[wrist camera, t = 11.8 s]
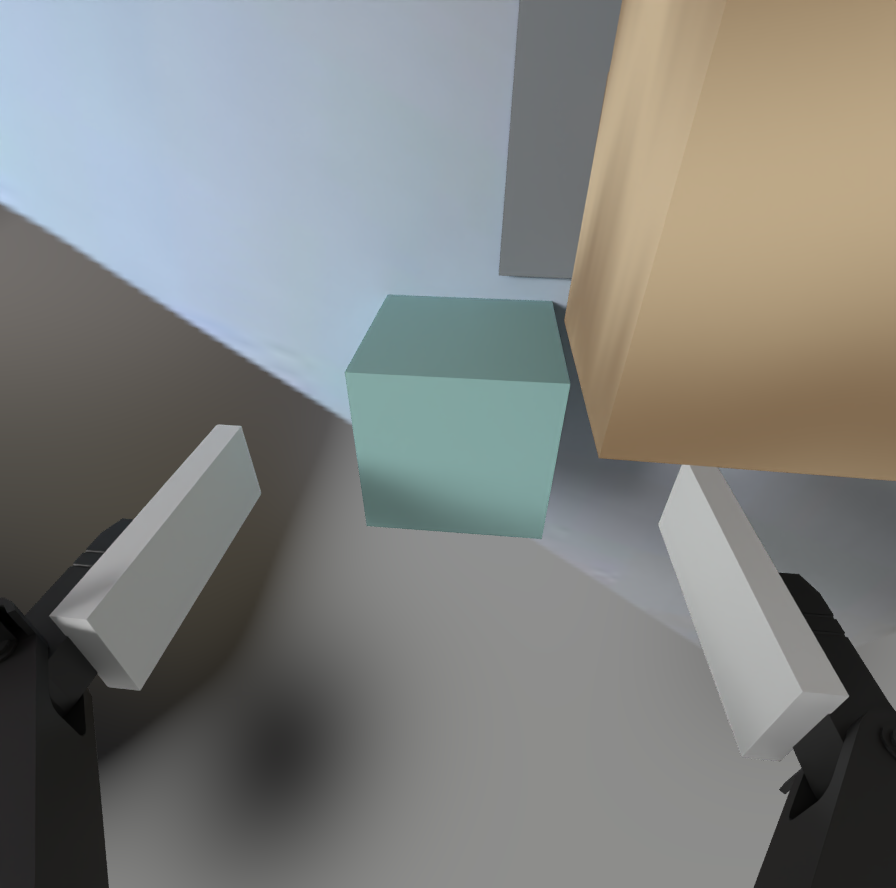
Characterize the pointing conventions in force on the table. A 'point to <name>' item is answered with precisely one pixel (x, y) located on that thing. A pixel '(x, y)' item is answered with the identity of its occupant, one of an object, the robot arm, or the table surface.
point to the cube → (458, 414)
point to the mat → (554, 130)
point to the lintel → (743, 239)
